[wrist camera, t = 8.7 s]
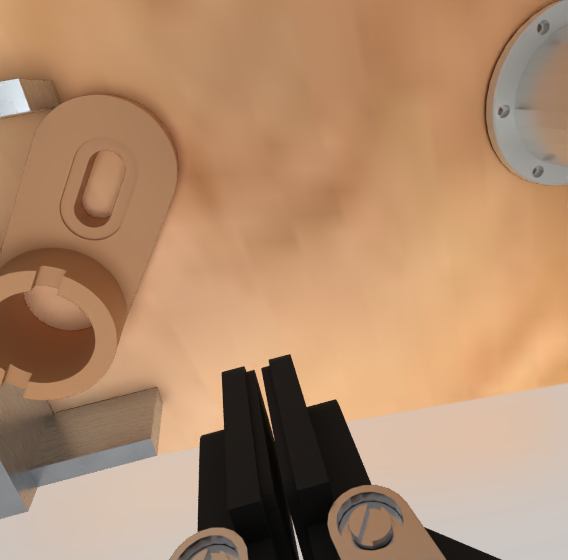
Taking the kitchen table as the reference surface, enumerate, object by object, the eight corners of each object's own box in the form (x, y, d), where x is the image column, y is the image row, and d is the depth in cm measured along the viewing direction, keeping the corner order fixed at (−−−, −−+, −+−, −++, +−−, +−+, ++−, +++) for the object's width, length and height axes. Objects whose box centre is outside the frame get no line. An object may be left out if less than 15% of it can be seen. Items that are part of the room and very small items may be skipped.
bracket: (110, 357, 36) (92, 414, 29) (-9, 323, 33) (-57, 378, 27) (196, 129, 31) (197, 139, 25) (65, 70, 28) (29, 64, 22)
